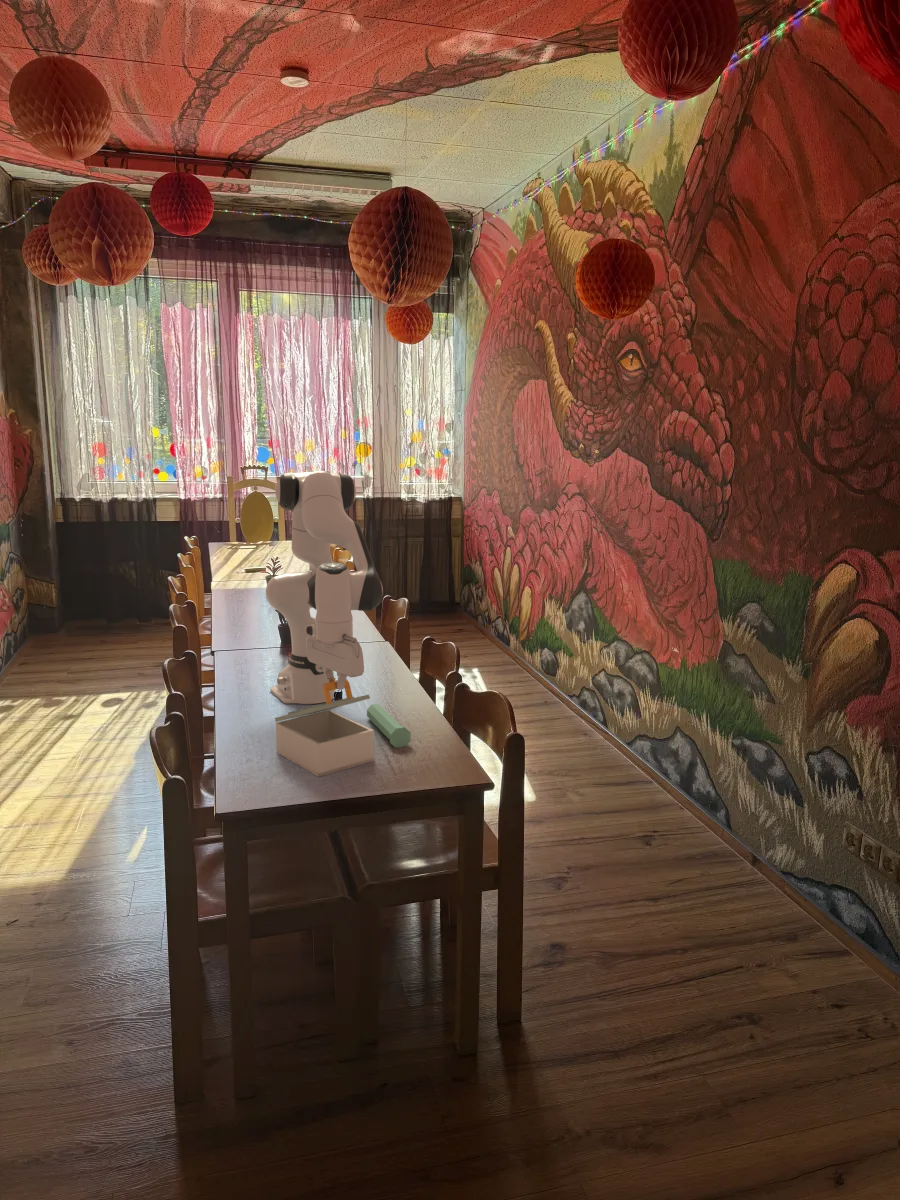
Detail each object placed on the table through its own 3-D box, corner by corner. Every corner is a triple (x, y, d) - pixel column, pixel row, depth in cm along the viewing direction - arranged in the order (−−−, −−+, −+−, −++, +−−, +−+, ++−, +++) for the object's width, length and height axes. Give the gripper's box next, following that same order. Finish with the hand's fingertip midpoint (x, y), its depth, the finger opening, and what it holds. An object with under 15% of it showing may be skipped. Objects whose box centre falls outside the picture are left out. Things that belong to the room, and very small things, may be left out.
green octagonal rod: (367, 698, 245) (394, 724, 222) (386, 703, 247) (414, 730, 224) (360, 717, 245) (386, 745, 222) (378, 722, 247) (406, 751, 224)
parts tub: (276, 752, 219) (275, 722, 217) (330, 738, 229) (329, 709, 227) (318, 776, 204) (318, 744, 202) (374, 760, 214) (374, 730, 212)
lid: (275, 721, 217) (270, 698, 218) (329, 709, 227) (324, 687, 228) (314, 711, 202) (308, 686, 202) (370, 698, 212) (364, 674, 213)
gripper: (370, 637, 200) (370, 694, 203) (322, 622, 215) (324, 675, 218) (347, 641, 196) (348, 699, 199) (300, 625, 211) (302, 680, 214)
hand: (335, 686), depth 208 cm, fingers open, 2 cm apart
